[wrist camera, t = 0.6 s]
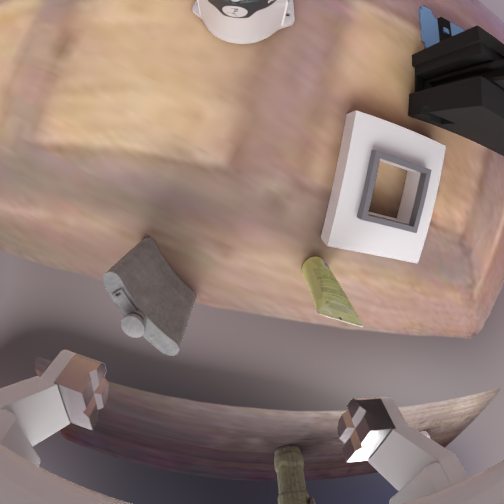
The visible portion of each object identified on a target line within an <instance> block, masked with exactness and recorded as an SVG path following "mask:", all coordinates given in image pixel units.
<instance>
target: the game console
mask: <svg viewBox="0 0 504 504" xmlns="http://www.w3.org/2000/svg"><path fill="white" fill-rule="evenodd" d="M419 15H420V25H421V38H422V42H424V46H425V48H426V49H424V50H422V51H420V52H418V53H416V54H414V55H412V66H413V67H415V93H412V94H409V114H408V116H410V117H413V118H416V119H419V120H422V121H425V122H428V123H430V124H433V125H436V126H438V127H441V128H443V129H446V130H448V131H451V132H453V133H456V134H458V135H461V136H463V137H465V138H467V139H470V140H472V141H474V142H476V143H478V144H481V145H483V146H485V147H487V148H489V149H491V150H493V151H495V152H497V153H499V154H501V155H503V156H504V44H503V43H501V42H500V41H499V40H497V39H496V38H495V37H493V36H492V35H490V34H489V33H488V32H486V31H485V30H483V29H482V28H480V27H479V26H475V27H473V28H470V29H468V30H466V31H465V30H463V29H462V28H460V27H458V26H457V25H455V24H453V23H451V22H449V21H448V20H446V19H444V18H442V17H440V18H438V19H436V18H435V16H434V15H432V10H430V9H428V8H426V7H424V6H421V9H419Z"/></svg>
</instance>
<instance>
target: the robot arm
mask: <svg viewBox="0 0 504 504" xmlns="http://www.w3.org/2000/svg"><path fill="white" fill-rule="evenodd" d="M192 11H193V13H194V14H195V15H196V16H198V17H199V18H201V19H202V20H203V22H204V23H205V25H206V27H207V29H208V30H209V31H210V32H211V33H212V34H213V35H214V36H216V37H217V38H219V39H221V40H224V41H227V42H230V43H236V44H248V43H254V42H258V41H261V40H264V39H266V38H268V37H269V36H271V35H272V34H273V33H275V32H276V31H277V30H279V29H282V28H286V27H289V26H291V25H293V24H294V20H295V18H294V4H293V0H196V2H195V4H194V5H193V7H192ZM286 14H288V15H289V16H286ZM105 374H106V367H105V364H104V363H102V362H99V361H96V360H93V359H90V358H88V357H85V356H82V355H79V354H76V353H73V352H71V351H68V350H63V351H61V352H60V354H59V355H58V356H57V357H56V358H55V360H54V361H53V362H52V363H51V365H50V366H49V367H48V368H47V370H46V371H45V372H44V373H43V375H42V376H41V377H39V376H35V377H32V378H30V379H27V380H24V381H21V382H18V383H15V384H12V385H9V386H6V387H4V388H0V504H132V503H128V502H125V501H121V500H118V499H115V498H112V497H109V496H106V495H103V494H101V493H98V492H95V491H92V490H90V489H87V488H84V487H82V486H80V485H77V484H75V483H73V482H70V481H68V480H66V479H64V478H61V477H59V476H57V475H55V474H53V473H51V472H49V471H47V470H45V469H43V468H41V467H39V464H40V462H41V461H40V458H39V456H38V454H37V453H36V451H35V450H34V448H33V446H34V445H36V444H37V443H39V442H41V441H42V440H44V439H46V438H47V437H49V436H51V435H52V434H54V433H56V432H57V431H59V430H60V429H62V428H64V427H65V426H67V425H69V424H70V422H71V423H74V424H76V425H79V426H82V427H85V428H88V429H90V430H93V428H94V426H95V424H96V422H97V420H98V418H99V413H98V410H99V409H101V408H103V407H104V405H105V403H106V401H107V397H108V389H109V387H108V381H107V380H106V379H105V378H104V375H105ZM347 407H348V411H346V412H345V413H344V414H342V416H341V418H340V420H339V423H338V435H339V438H340V439H341V440H342V441H343V442H344V443H345V444H344V446H343V451H344V455H345V458H346V461H347V462H356V461H367V460H368V462H369V463H370V464H371V465H372V466H373V467H374V468H375V469H376V470H377V471H378V472H379V473H380V474H381V475H382V476H383V477H384V478H386V480H387V481H389V482H390V483H391V484H392V485H393V486H394V487H395V488H396V489H397V490H398V491H399V492H398V493H397V494H395V495H394V496H393V497H392V498H391V499H390V500H389V504H504V460H503V461H501V462H500V463H498V464H496V465H494V466H492V467H491V468H488V469H487V470H485V471H483V472H481V473H479V474H477V475H475V476H473V477H470V478H468V476H467V474H466V472H465V470H464V469H463V467H462V465H461V463H460V461H459V460H458V458H457V456H456V455H455V454H453V453H452V452H450V451H448V450H447V449H445V448H444V447H442V446H441V445H439V444H437V443H436V442H434V441H433V440H431V439H430V438H428V437H427V436H425V435H423V434H422V433H420V432H419V431H417V430H416V429H414V428H413V427H408V426H407V424H406V422H405V420H404V418H403V416H402V415H401V413H400V411H399V409H398V407H397V406H396V404H395V402H394V400H393V399H392V398H391V397H378V398H353V399H352V400H350V402H349V403H348V405H347Z"/></svg>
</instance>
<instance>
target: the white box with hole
mask: <svg viewBox="0 0 504 504" xmlns="http://www.w3.org/2000/svg"><path fill="white" fill-rule="evenodd" d="M445 148H446V146H445V145H443V144H441V143H438V142H436V141H434V140H432V139H430V138H427V137H425V136H423V135H421V134H418V133H416V132H414V131H411V130H409V129H406V128H404V127H401V126H399V125H396V124H394V123H391V122H388V121H386V120H383V119H380V118H377V117H375V116H372V115H369V114H366V113H363V112H360V111H357V110H356V111H353V112H350V113H348V114H346V120H345V126H344V131H343V137H342V142H341V147H340V152H339V157H338V162H337V167H336V172H335V177H334V182H333V186H332V191H331V196H330V200H329V205H328V209H327V213H326V218H325V222H324V226H323V230H322V234H321V239H322V241H323V242H324V243H325V244H326V245H327V246H329V247H335V248H340V249H345V250H351V251H356V252H361V253H367V254H372V255H377V256H382V257H388V258H393V259H398V260H403V261H408V262H413V263H418V261H419V258H420V255H421V251H422V248H423V245H424V242H425V238H426V235H427V231H428V228H429V224H430V220H431V216H432V212H433V208H434V204H435V200H436V196H437V191H438V187H439V182H440V177H441V172H442V166H443V161H444V155H445ZM379 162H384V163H387V164H390V165H393V166H396V167H399V168H401V169H404V170H407V176H406V180H405V185H404V190H403V194H402V198H401V203H400V207H399V211H398V215H397V219H396V218H393V217H389V216H385V215H381V214H377V213H373V212H369V207H370V203H371V199H372V195H373V190H374V186H375V181H376V177H377V172H378V167H379Z"/></svg>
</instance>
